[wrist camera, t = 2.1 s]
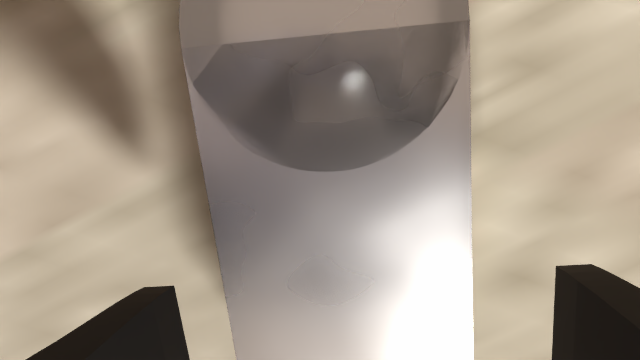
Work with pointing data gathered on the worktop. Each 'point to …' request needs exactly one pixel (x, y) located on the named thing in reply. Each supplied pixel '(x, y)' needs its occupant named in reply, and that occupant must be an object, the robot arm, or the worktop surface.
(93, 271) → the worktop surface
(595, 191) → the worktop surface
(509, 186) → the worktop surface
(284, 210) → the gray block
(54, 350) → the robot arm
